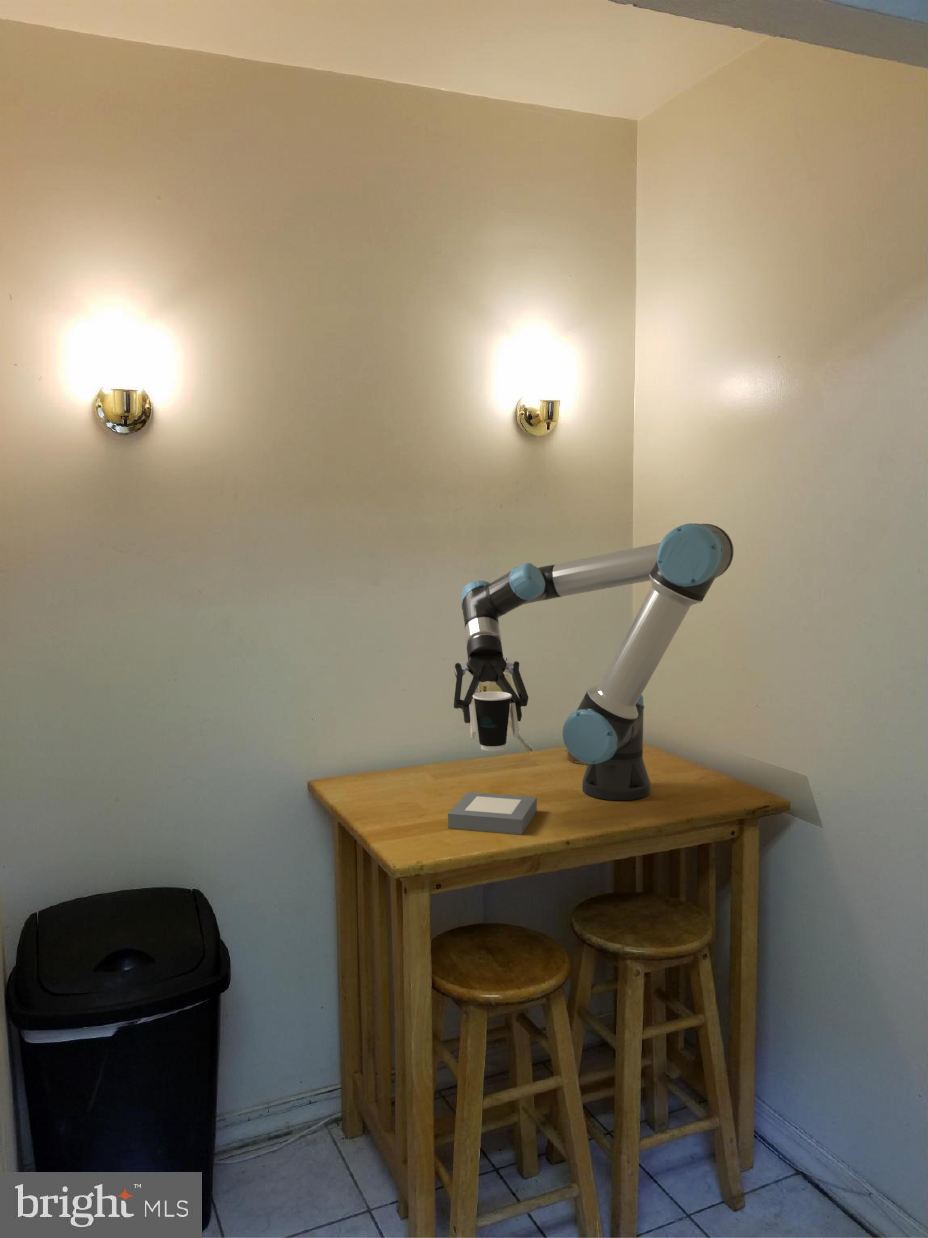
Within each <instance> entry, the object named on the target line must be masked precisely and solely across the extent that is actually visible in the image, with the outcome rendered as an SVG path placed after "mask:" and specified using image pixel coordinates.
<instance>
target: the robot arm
mask: <svg viewBox="0 0 928 1238" xmlns="http://www.w3.org/2000/svg"><path fill="white" fill-rule="evenodd" d="M734 548H735V547H734V544H733V541H732V539H731V537H730V536H729V534H728V533H727V532H726V531H725V530H724V529H722V528H721V527H719V526H718V525H716V524H715V525H714V524H710V523H695V522H694V523H691V522H690V523H684V524H682V525H679V526H677V527H674V528H673V529H672V530H670V531H669V532H668V533H667V534H666V535H665V536H664V537H663V538H662V540H661V542H657V543H653V544H647V545H643V546H642V545H641V546H637V547H633V548H629V549H624V550H623V549H622V550H619V551H618V550H617V551H614V552H609V553H604V554H603V553H602V554H598V555H593V556H589V557H583V558H580V559H579V558H578V559H574V560H569V561H565V562H560V563H555V564H549V565H545V566H539V567H537V566H536V565H534V564H533V563H531V562H525V563H524V564H522V565H519V566H516V567H514V568H513V569H512V570H510V571H509V572H507V573H506V574H504V575H502V576H501V577H499V578H497V579H495V580H494V581H492V582H491V583H490V582H488V581H485V580H477V581H470V582H468V583H467V584H466V585H465V586H464V587H463V588H462V591H461V610H462V615H463V616H462V617H463V622H464V633H465V635H464V636H465V642H466V653H467V662H466V663H465V664H461V663H459V662H457V663H455V664H454V670H453V671H454V675H455V679H456V681H455V691H454V698H453V699H454V700H453V708H454V709H461V710H462V713H463V721H464V723H465V724H469V728H470V729H469V730H470V739H471V740H476V735H477V733H476V732H477V729H476V719H475V718H476V717H475V710H474V709H475V708H474V704H473V703H472V701H473V699H474V698H473V695H474V694H476V691H477V688H478V687H479V685H480V683H485V682H491V683H495V684H496V686H498V687H499V688H500V690H501V692H506V693H510V694H511V695H512V697H511V698H510V708H509V714H510V720H511V727H512V735H513V738H518V737H519V732H520V731H519V730H520V728H519V722H521V720H522V717H523V714H522V707H527V706H528V702H529V694H528V693H527V690H526V686H525V683H524V681H523V679H522V675H521V673H520V662H519V661H517V660H515V661H513V662H512V663H510V662H507V661H506V660H505V657H504V652H503V646H502V641H501V640H502V638H501V631H500V625H499V623H500V622H499V618H501V617H502V616H505V615H507V614H508V613H509V612H511V611H513V610H515V609H517V608H519V607H521V606H522V605H523V606H524V605H527V604H531V603H535V602H541V601H543V602H544V601H549V600H551V599H556V598H561V597H565V596H566V597H567V596H572V595H578V594H583V593H589V592H590V593H591V592H594V591H599V590H600V591H601V590H606V589H610V588H611V589H612V588H617V587H622V586H623V587H624V586H626V585H627V586H628V585H633V584H638V583H644V582H648V581H649V582H650V583H651V587H650V589H649V590H648V592H647V594H646V596H645V598H644V599H643V600H644V601H643V602H642V604H641V605H640V607H639V609H638V611H637V613H636V615H635V616H634V619H633V621H632V622H631V624H630V626H629V628H628V630H627V632H626V633H625V636H624V637H623V639H622V641H621V642H620V644H619V647H618V648H617V649H616V652H615V654H614V656H613V658H612V660H611V662H610V663H609V665H608V667H607V669H606V670H605V673H604V675H603V676H602V678H601V680H600V682H599V684H597V685H594V686H590V687H589V688H587V690H586V692H585V694H584V696H583V698H582V700H581V702H580V703H579V705H578V707H577V709H576V711H572V712H571V713H570V715H569V716H568V717H567V719H566V720H565V722H564V724H563V727H562V740H563V743H564V745H565V747H566V749H568V751H569V752H570V753H571V755H573V756H574V757H575V758H576V759H578V760H579V761H581V762H584V763H587V764H588V765H586V769H585V771H584V773H583V777H582V782H581V783H582V784H581V785H582V787H581V788H582V792H583V793H584V794H586V795H588V796H590V797H593V798H597V799H601V800H609V801H632V800H633V801H634V800H639V799H643V798H646V797H647V796H649V795H650V794H651V780H650V777H649V773H648V770H647V768H646V765H645V762H644V757H643V755H644V752H643V751H644V750H643V749H644V710H645V705H644V696H643V692H644V691H645V688H646V687H647V686H648V683H649V681H650V680H651V678H652V676H653V675H654V673H655V671H656V669H657V667H658V666H659V664H660V662H661V661H662V658H663V656H664V654H665V653H666V651H667V649H668V647H669V646H670V644H671V642H672V640H673V638H674V637H675V635H676V633H677V631H679V627H680V626H681V625H682V622H683V621H684V618H685V617H686V615H687V613H688V612H689V610H690V608H691V606H693V605H697V604H700V603H702V602H703V601H704V599H705V597H706V595H707V593H708V592H709V590H710V588H711V587H712V585H713V583H714V581H715V580H716V579H717V578H719V577H721V576H722V575H723V574H724V573H725V572H726V571H727V570H729V568H730V566H731V564H732V561H733V558H734ZM506 670H507V671H508V673H509V675H511V678H512V681H513V684H514V686H515V689H516V691H515V690H514V688H513V687H512V685H511V683H510V682H509V680H508V679H507V678H506V676H505V673H504V672H506ZM466 671H467V672H468V673H469V674H470V675H472V676H473V677H472V680H471V681H470V685H469V687H468V689H467V691H466V694H465V697H464V699H461V696H462V687H463V677H464V676H465V674H466ZM516 692H517V693H516Z"/></svg>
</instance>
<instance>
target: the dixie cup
mask: <svg viewBox="0 0 928 1238" xmlns="http://www.w3.org/2000/svg"><path fill="white" fill-rule="evenodd" d="M511 697H512V695H511V694H510V693H506V692H503V691H497V690H496V691H493V690H491V691H481V692H480V691H479V692H475V694H474V695H473V699H474V700H473V701H474V709H475V710H474V711H475V716H476V717H475V718H476V723H477V724H476V725H477V733H478V741H479V745H480V749H481V750H483V751H487V752H500V751H503V750H505V747H506V744H507V739H508V738H507V737H508V729H509V728H508V726H509V717H510V708H511V703H510V698H511Z"/></svg>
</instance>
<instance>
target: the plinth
mask: <svg viewBox="0 0 928 1238" xmlns="http://www.w3.org/2000/svg"><path fill="white" fill-rule="evenodd" d="M537 797H538V796H526V795H525V796H524V795H514V794H513V795H510V794H501V793H499V794H497V793H486V792H485V793H484V792H474V791H473V792H471V791H467V793H465V795H463V797H462V798H461V799H460V800H459V801H458V802H457V804H455V805H454V807H453V808H451V810H450V811H448V813H447V829H451V830H452V829H454V830H464V831H477V832H485V831H488V832H487V833H497V832H499V834H509V835H511V834H512V835H520V836H521V835H523V834H524V833H525V831H526V829H527V827H528V826H529V824H530V823H531V821H532V819H533V818H534V816H535V814H536V813H537V810H538V809H537V808H538V803H537V801H538V798H537Z"/></svg>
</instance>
